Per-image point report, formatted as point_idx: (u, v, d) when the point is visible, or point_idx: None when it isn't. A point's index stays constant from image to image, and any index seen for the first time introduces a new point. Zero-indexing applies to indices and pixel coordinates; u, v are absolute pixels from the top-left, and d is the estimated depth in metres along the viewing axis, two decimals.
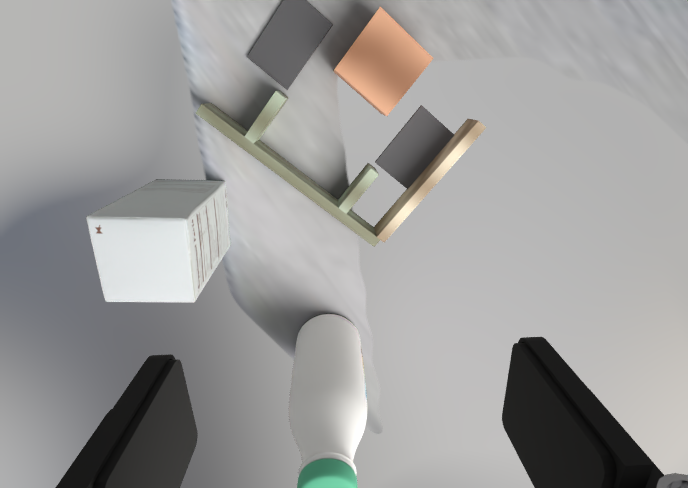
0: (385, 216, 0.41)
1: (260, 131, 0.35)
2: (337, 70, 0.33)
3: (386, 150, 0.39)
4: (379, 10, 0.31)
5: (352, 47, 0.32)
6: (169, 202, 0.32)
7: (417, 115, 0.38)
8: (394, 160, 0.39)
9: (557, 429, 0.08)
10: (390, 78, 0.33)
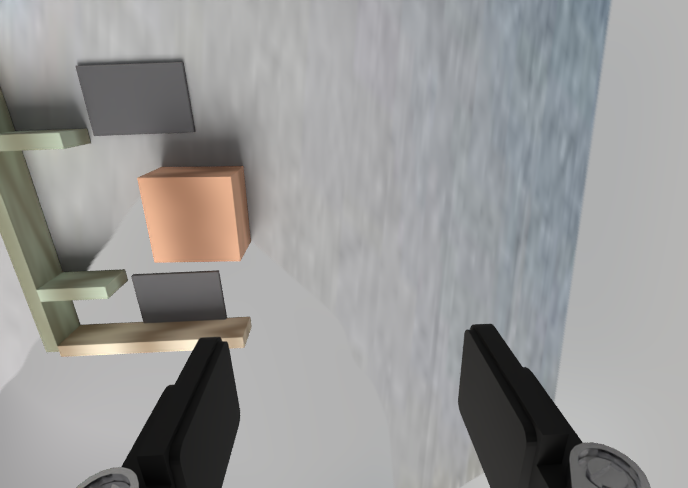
0: (98, 327, 0.32)
1: (5, 149, 0.25)
2: (139, 181, 0.25)
3: (151, 276, 0.31)
4: (227, 178, 0.25)
5: (173, 179, 0.25)
6: None
7: (206, 275, 0.31)
8: (152, 291, 0.32)
9: (495, 407, 0.09)
10: (186, 238, 0.26)
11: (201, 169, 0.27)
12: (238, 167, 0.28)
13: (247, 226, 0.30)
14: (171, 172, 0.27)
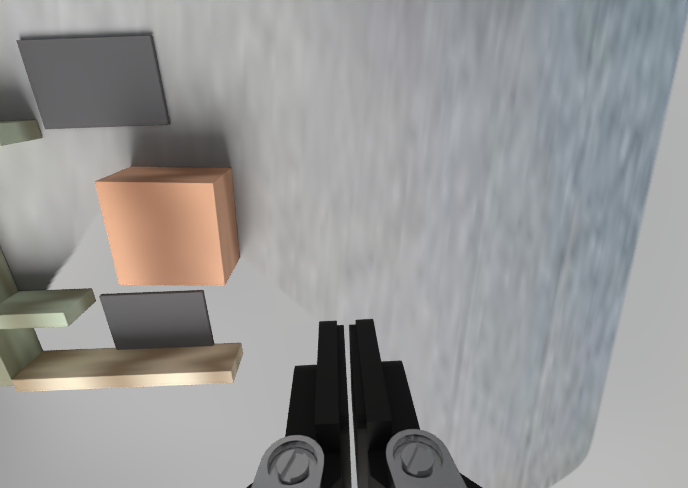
0: (62, 355, 0.28)
1: None
2: (98, 186, 0.20)
3: (123, 296, 0.26)
4: (208, 185, 0.20)
5: (140, 184, 0.20)
6: None
7: (189, 296, 0.26)
8: (125, 313, 0.27)
9: None
10: (158, 257, 0.21)
11: (179, 171, 0.22)
12: (225, 169, 0.23)
13: (235, 240, 0.24)
14: (140, 174, 0.21)
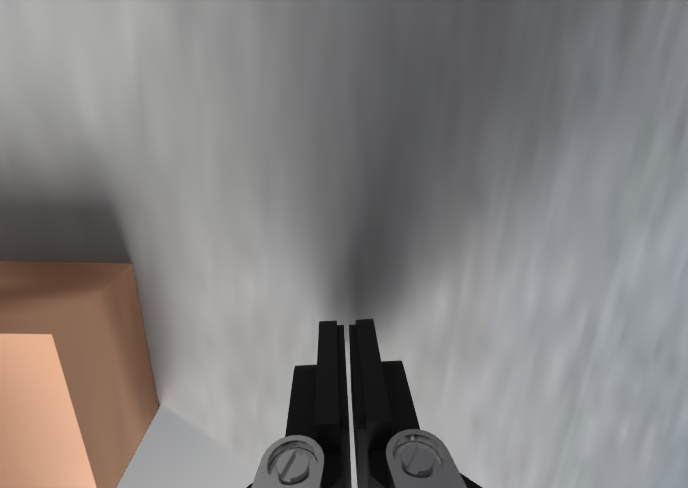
0: None
1: None
2: None
3: None
4: (41, 339, 0.09)
5: None
6: None
7: None
8: None
9: None
10: None
11: (16, 278, 0.11)
12: (116, 270, 0.12)
13: (145, 389, 0.13)
14: None
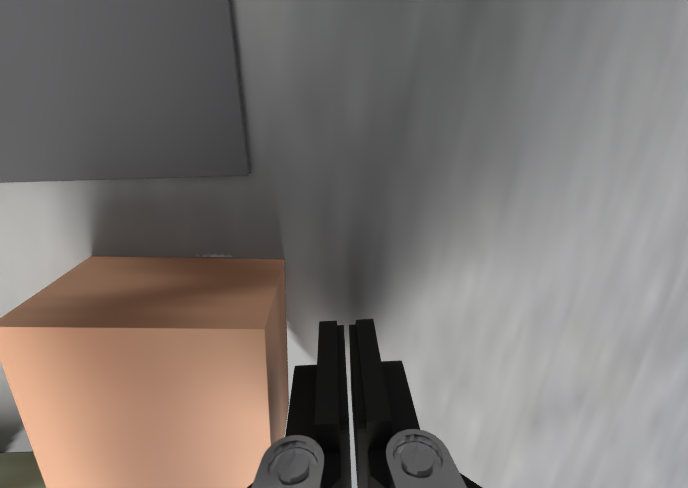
0: None
1: None
2: None
3: None
4: (253, 334, 0.09)
5: (96, 332, 0.09)
6: None
7: None
8: None
9: None
10: (137, 465, 0.10)
11: (184, 275, 0.11)
12: (274, 266, 0.12)
13: (285, 387, 0.13)
14: (103, 290, 0.10)
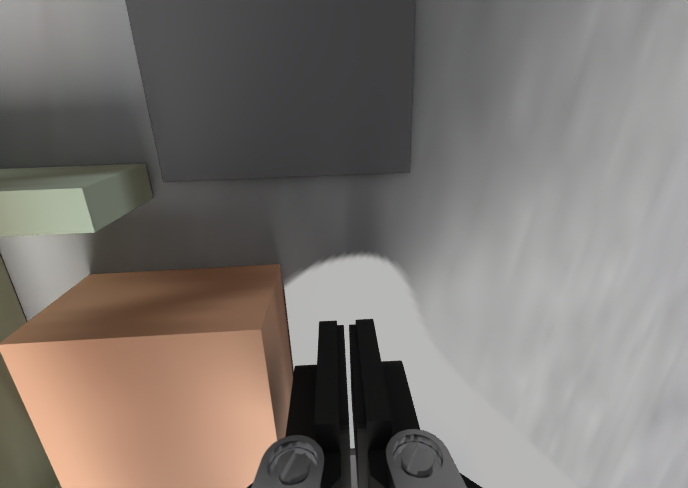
0: None
1: None
2: (6, 353, 0.09)
3: None
4: (250, 335, 0.09)
5: (100, 343, 0.09)
6: None
7: None
8: None
9: None
10: (150, 470, 0.10)
11: (183, 283, 0.11)
12: (270, 268, 0.12)
13: (291, 386, 0.13)
14: (105, 303, 0.10)
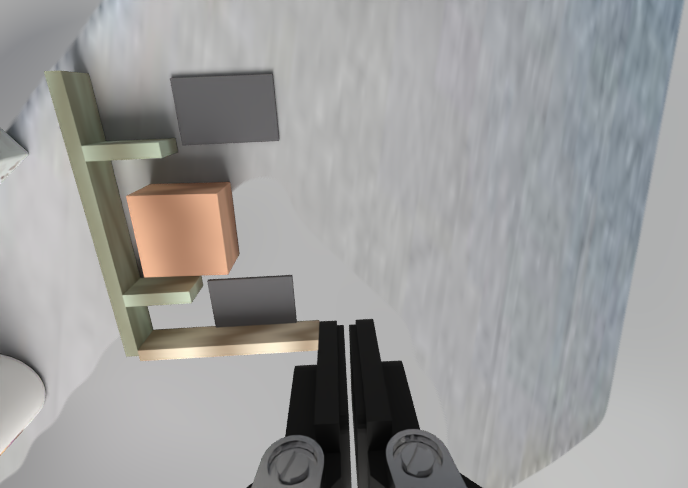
0: (171, 332, 0.33)
1: (104, 158, 0.26)
2: (128, 199, 0.26)
3: (227, 281, 0.32)
4: (213, 195, 0.26)
5: (161, 197, 0.26)
6: None
7: (280, 280, 0.32)
8: (226, 295, 0.32)
9: None
10: (175, 253, 0.27)
11: (189, 186, 0.28)
12: (225, 183, 0.29)
13: (235, 240, 0.30)
14: (159, 189, 0.27)
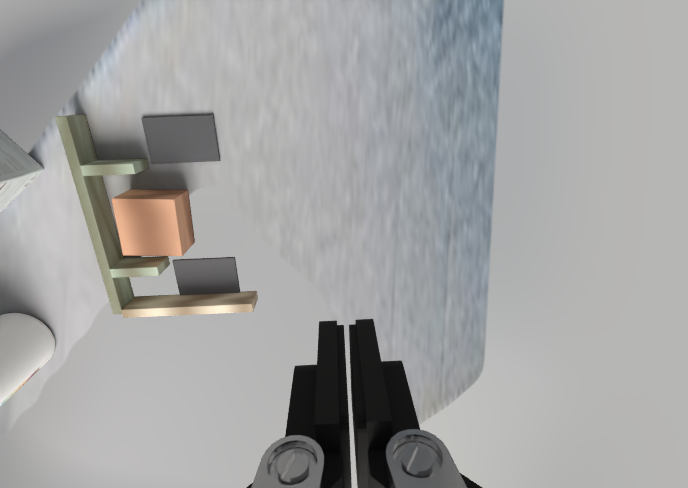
0: (147, 298, 0.45)
1: (96, 174, 0.37)
2: (113, 201, 0.38)
3: (187, 261, 0.44)
4: (171, 200, 0.38)
5: (135, 200, 0.38)
6: None
7: (226, 260, 0.44)
8: (187, 271, 0.44)
9: None
10: (145, 239, 0.39)
11: (157, 192, 0.40)
12: (183, 191, 0.41)
13: (190, 232, 0.42)
14: (135, 194, 0.39)
